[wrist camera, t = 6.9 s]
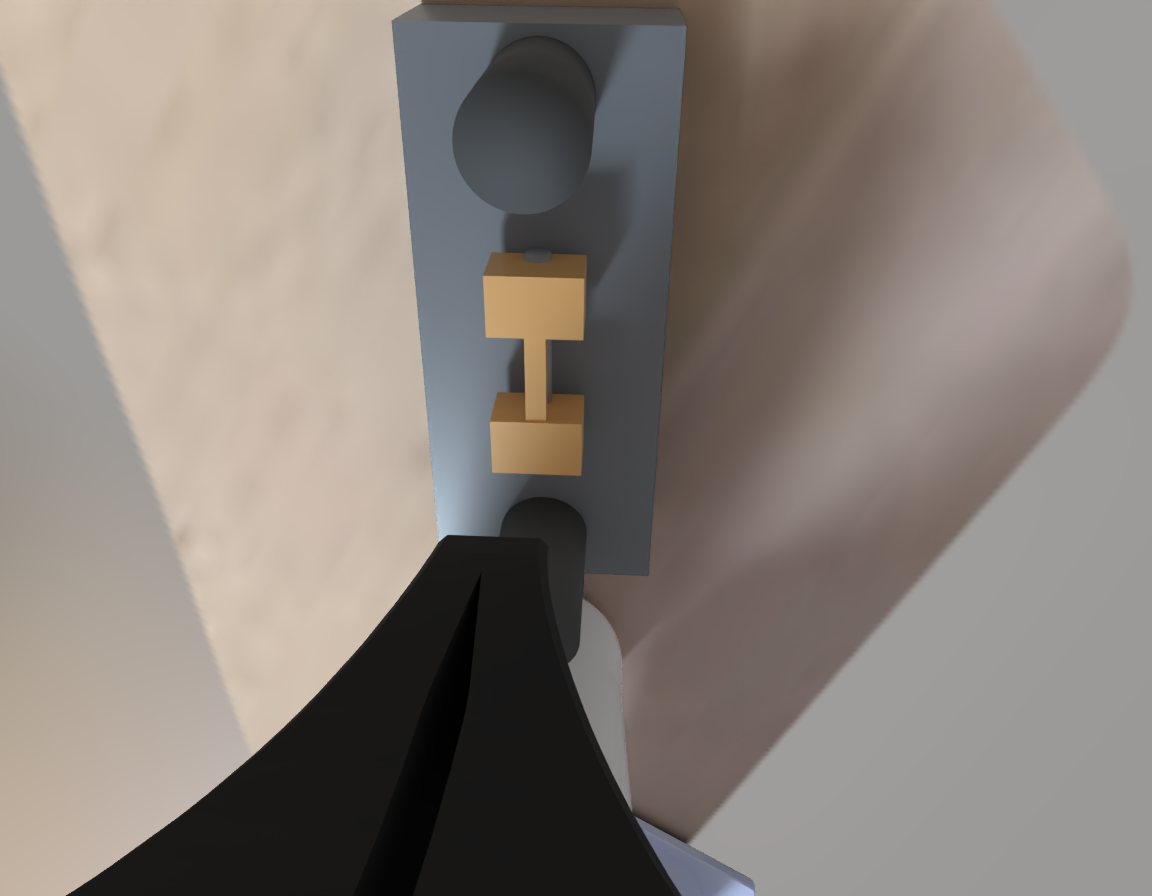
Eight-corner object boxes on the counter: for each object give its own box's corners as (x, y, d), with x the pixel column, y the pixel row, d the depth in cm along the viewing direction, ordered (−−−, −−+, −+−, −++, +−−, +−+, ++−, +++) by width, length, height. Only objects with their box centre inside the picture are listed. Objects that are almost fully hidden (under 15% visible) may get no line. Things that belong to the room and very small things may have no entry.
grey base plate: (646, 513, 24) (648, 575, 21) (457, 506, 24) (441, 567, 22) (679, 8, 17) (686, 25, 15) (420, 4, 17) (391, 21, 15)
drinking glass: (587, 519, 24) (542, 1247, 11) (681, 685, 27) (731, 1400, 14) (372, 594, 26) (120, 1295, 13) (484, 742, 29) (372, 1422, 16)
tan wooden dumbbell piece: (583, 448, 19) (580, 480, 18) (499, 445, 19) (492, 476, 18) (586, 249, 17) (584, 273, 16) (490, 247, 17) (482, 270, 16)
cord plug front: (599, 153, 16) (596, 210, 13) (489, 159, 16) (462, 218, 13) (593, 31, 15) (587, 65, 12) (475, 40, 15) (442, 74, 12)
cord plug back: (585, 567, 21) (578, 676, 18) (502, 563, 21) (482, 672, 18) (587, 498, 20) (580, 604, 17) (500, 494, 20) (478, 599, 17)
